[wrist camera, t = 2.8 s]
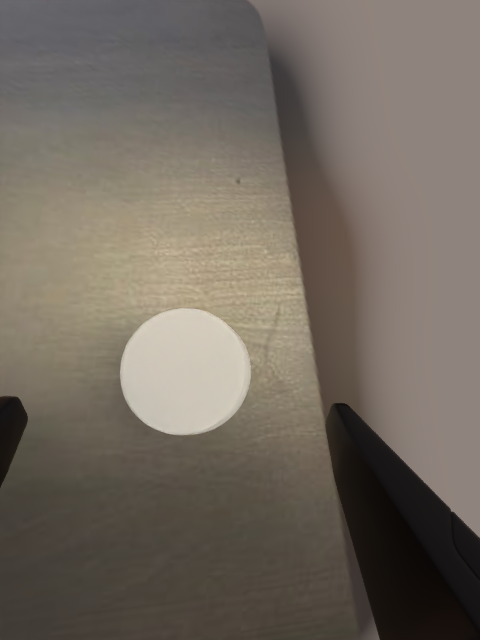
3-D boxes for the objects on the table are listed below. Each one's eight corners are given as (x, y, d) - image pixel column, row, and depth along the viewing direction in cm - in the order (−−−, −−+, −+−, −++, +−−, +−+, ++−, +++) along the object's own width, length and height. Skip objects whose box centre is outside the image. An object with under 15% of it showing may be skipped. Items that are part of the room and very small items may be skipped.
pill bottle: (244, 338, 18) (267, 304, 10) (236, 420, 17) (253, 457, 9) (164, 329, 18) (121, 287, 10) (152, 412, 17) (91, 442, 9)
